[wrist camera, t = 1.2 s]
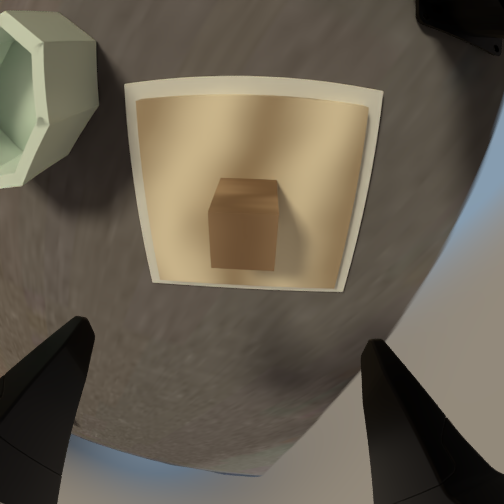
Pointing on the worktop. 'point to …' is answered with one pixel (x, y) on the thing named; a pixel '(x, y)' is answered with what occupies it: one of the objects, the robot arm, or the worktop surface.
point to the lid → (250, 186)
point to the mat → (256, 87)
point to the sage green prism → (42, 91)
